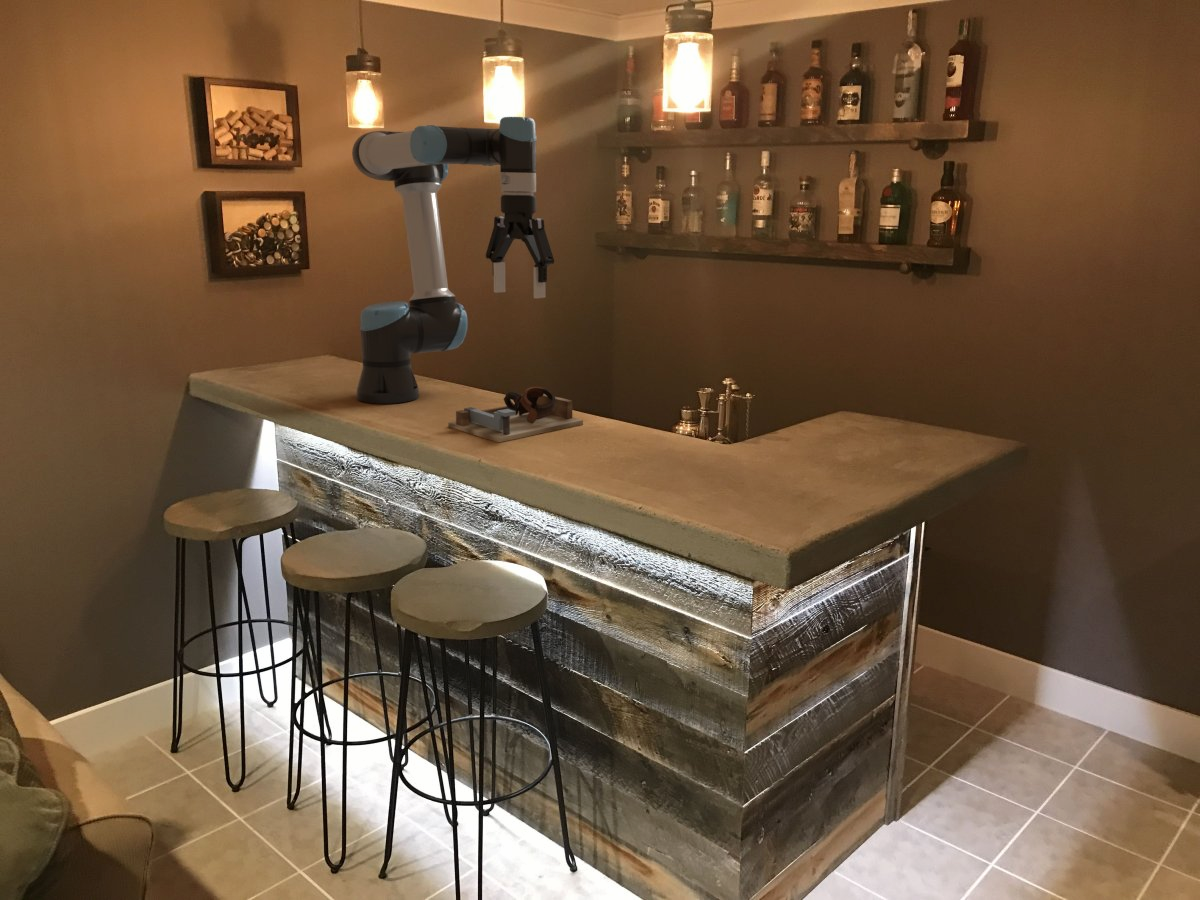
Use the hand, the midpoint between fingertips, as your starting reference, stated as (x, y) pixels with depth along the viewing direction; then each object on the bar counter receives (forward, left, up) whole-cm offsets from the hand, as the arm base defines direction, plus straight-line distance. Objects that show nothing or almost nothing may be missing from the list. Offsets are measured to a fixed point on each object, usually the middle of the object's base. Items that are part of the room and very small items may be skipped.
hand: (519, 295), depth 211 cm
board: (+1, -2, -29) cm, 29 cm away
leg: (+2, -10, -27) cm, 29 cm away
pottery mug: (+1, +2, -28) cm, 28 cm away
